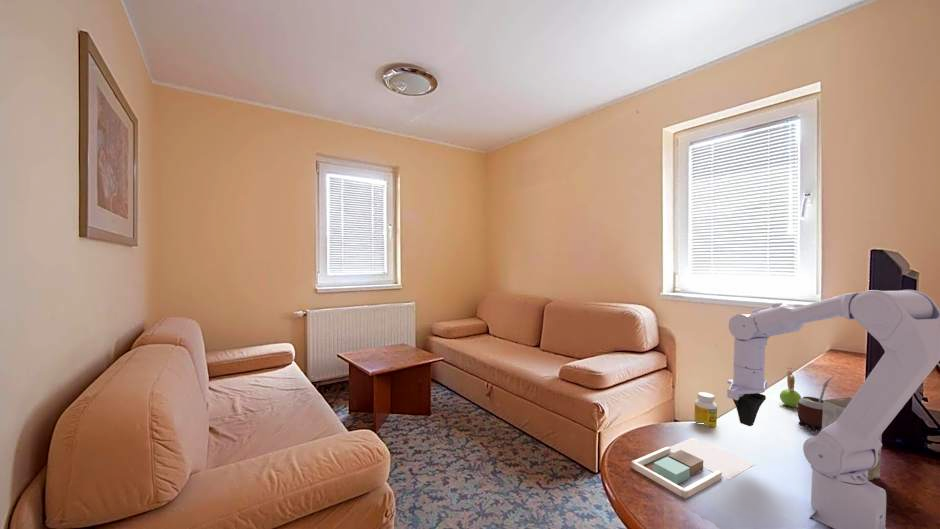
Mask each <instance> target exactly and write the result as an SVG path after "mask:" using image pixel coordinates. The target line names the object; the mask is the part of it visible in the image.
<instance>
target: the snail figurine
mask: <svg viewBox="0 0 940 529" xmlns="http://www.w3.org/2000/svg"><path fill="white" fill-rule="evenodd" d="M792 370H793V367H789V366H788V367H787V374H786V375H787V378H786V381H787V389H783V390H782V391H781V392H780V394H779V398H780V401H781V402H782V403H783V404H784V405H785V406H786V407H787V406H788V407H791V408H794V407H798V402H799V400H800V399H801V398H802V396H801V394H800V393H799V392H797V391H796V390H795V381H796V380H795V376H794V374H793V372H792Z"/></svg>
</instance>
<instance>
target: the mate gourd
mask: <svg viewBox="0 0 940 529" xmlns="http://www.w3.org/2000/svg"><path fill="white" fill-rule="evenodd" d="M832 378H834V374H833V375H831V376H829V377H828V378H827V379H826V381H825V382H824V383H823V385H822V386H823V387H822V390H821V393H820V397H819V398H818V397H815V396H801V399H800V400H799V402H798V406H797V416H798V420H799V421H798V425H800V426H805V427H808V428H811V429H810V430H811V431H813V432H816V429H818V430H820V431H821V430H822V415H823V400H824V399H823V398H824V395H825V391H826V389H827V387H828V384H829V382H830V381H831V380H832Z"/></svg>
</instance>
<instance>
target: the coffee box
mask: <svg viewBox="0 0 940 529" xmlns="http://www.w3.org/2000/svg"><path fill="white" fill-rule="evenodd" d="M852 398H853V397H850V396H849V397H840V398H831V399H822V400H823V415H822V429H824V428H826V427H827V426H829V425H831V424H832V423H834V422H836V421H837V419H838V418H839V417H840V415H841V414H842V412H843V411H844V410H845V408H846V407H847V405H848V404H849V403H850V401H851V400H852ZM882 435H883V433H882V434H881V435H880V436H879V438H878V439H879V440H880V442H881V443H882V440H883V439H882ZM881 455H882V447H881V448H880V449H879V451H878V463H877V465H876V466H875V467H874V468H873V469H870V470H868V476H867V480H868V481H871V480H875V479H874V478H876V479H879V478H878V477H881V459H882V458H881V457H882V456H881Z"/></svg>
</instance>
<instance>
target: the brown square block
mask: <svg viewBox="0 0 940 529" xmlns="http://www.w3.org/2000/svg"><path fill="white" fill-rule="evenodd" d="M667 457H669V458H671V459H673V460H675V461H677V462H679V463H681V464H683V465H685V466H687V467H689V468H690V477H692V476H694V475H696V474H698V473H700V472H702V471H703V470H704V468H703V460H702V459H700V458H698V457H695V456H693V455H691V454H689V453H687V452H685V451H683V450H679V451H677V452H675V453H672V452H671V453H670V454H668V455H667Z"/></svg>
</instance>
